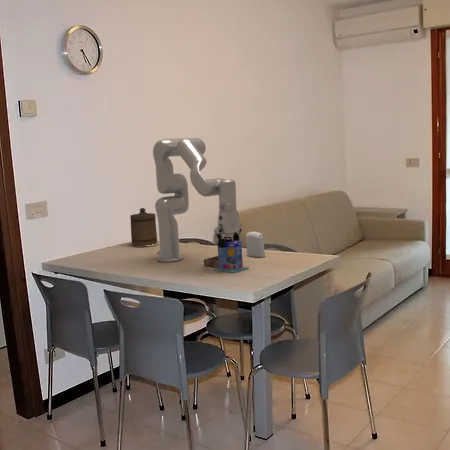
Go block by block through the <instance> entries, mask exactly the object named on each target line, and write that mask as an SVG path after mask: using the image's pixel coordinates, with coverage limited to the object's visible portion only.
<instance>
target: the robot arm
mask: <svg viewBox="0 0 450 450" xmlns="http://www.w3.org/2000/svg"><path fill="white" fill-rule="evenodd" d="M152 148H153V149H152V156H153V159H154V164H155V175H156V176H155V179H156V188H157V191H158V193H160V194H162V195H165V194H166V195H168V194H173V195H169V196H162V197H160V198H158V199H157V200H156V201H155V205H154V209H155V214H156V217H157V223H158V237H159V250H158V251H156V255H158V258H157V261H158V262H160V263H161V262H163V263H169V262H171V263H172V262H178V261H182V260H183V259H184V256H183V255H181V253H180V238H179V224H178V221H177V220H176V218H175V216H176V215H183V214H185V213H187V212H188V210H189V207H190V205H189V204H190V201H189V200H190V199H189V186H188V180H187V178H186V177H185V175H184V174H182V173H174V172H175V171H174V164H173V163H172V160H171V158H170V157H181V158H182V160H183V161H184V162H185V164H186V165H187V167H188V168H189V170H190V172H189V177H190V178H189V179H190V182H191V185H192V186H193V188H194V189H195V191H197V193H198V194H199V195H200V196H202V197H204V198H205V197H213V196H218V205H219V206H218V209H219V211H218V217H217V227H216V228H214V230H213V232H214V233H215V236H216V238H217V240H218V241H217V242H218V243H219V248H225V239H224V237H226V235H231V234H232V241H240V235H241V232H242V228H243V225H242V224H241V223H240V222H241V221H240V215H239V211H238V209H237V186H236V181H235V180H234V179H227V178H226V179H224V178H221V177H220V178H219V177H218V178H207V179H206V178H205V177H204V176H203V174H202V173H201V171H202V170H203V169H204V168H205V167H206V165H207V158H206V157H205V156H204V154H205V152H206V148H207V147H206V144H205V142H204V141H203V139H201V138H199V137H190V138H189V137H188V138H187V137H186V138H185V137H184V138H164V139H159V140H158V141H156V142H155V144H154V145H153V147H152Z"/></svg>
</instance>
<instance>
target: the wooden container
mask: <svg viewBox="0 0 450 450" xmlns="http://www.w3.org/2000/svg"><path fill="white" fill-rule="evenodd" d="M156 217H157V215H156V213H152V212H151V213H150V212H149V213H148V212H146V208H144V207H141V208H140V209H139V213H133V214H131V215H130V234H131V235H130V237H131V246H132V245H133V246H146V245H152V244H156V243H157V244H158V233H157V221H156V219H157V218H156ZM133 246H132V247H133Z"/></svg>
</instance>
